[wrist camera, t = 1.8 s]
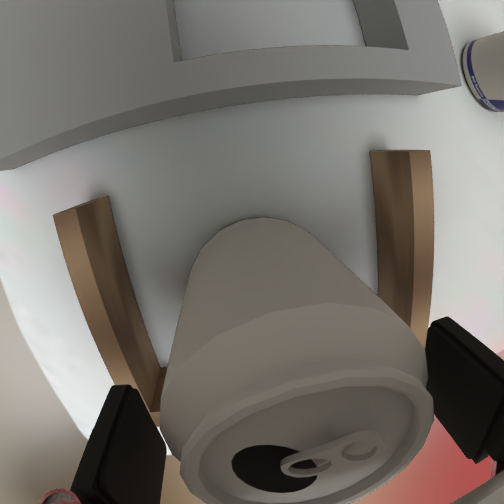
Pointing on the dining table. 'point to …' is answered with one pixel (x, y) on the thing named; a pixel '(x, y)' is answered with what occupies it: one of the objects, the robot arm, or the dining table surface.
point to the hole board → (186, 68)
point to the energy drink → (486, 70)
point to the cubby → (124, 302)
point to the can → (289, 375)
